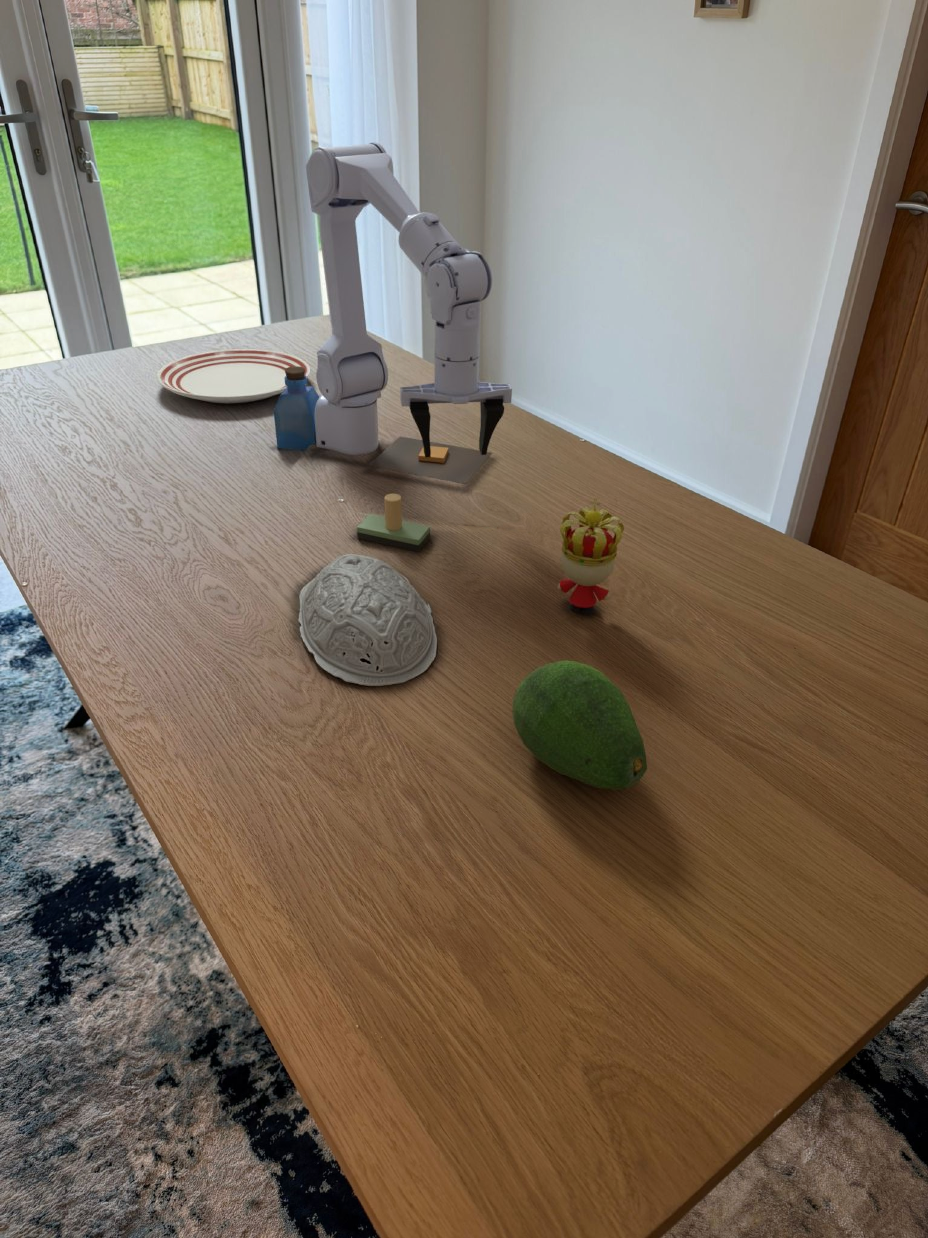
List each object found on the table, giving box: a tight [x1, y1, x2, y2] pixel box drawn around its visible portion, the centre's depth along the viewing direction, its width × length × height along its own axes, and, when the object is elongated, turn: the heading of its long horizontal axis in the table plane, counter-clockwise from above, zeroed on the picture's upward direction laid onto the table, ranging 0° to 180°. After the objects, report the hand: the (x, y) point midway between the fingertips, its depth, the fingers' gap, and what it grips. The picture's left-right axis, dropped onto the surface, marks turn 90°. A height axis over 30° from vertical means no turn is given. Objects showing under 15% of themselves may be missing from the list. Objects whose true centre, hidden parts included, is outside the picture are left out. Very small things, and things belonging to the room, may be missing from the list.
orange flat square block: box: [418, 446, 449, 463], centre depth 140 cm, size 4×4×1 cm
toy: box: [557, 497, 625, 616], centre depth 103 cm, size 7×7×15 cm
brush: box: [356, 493, 431, 553], centre depth 119 cm, size 9×4×6 cm, turn 69°
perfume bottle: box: [273, 366, 320, 451], centre depth 143 cm, size 6×6×12 cm
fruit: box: [511, 659, 648, 791], centre depth 83 cm, size 15×10×10 cm, turn 28°
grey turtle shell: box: [298, 553, 438, 687], centre depth 103 cm, size 16×25×7 cm, turn 16°
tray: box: [368, 435, 493, 485], centre depth 139 cm, size 16×12×1 cm
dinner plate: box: [156, 348, 311, 404], centre depth 165 cm, size 28×27×3 cm
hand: (455, 453), depth 122 cm, fingers open, 7 cm apart
